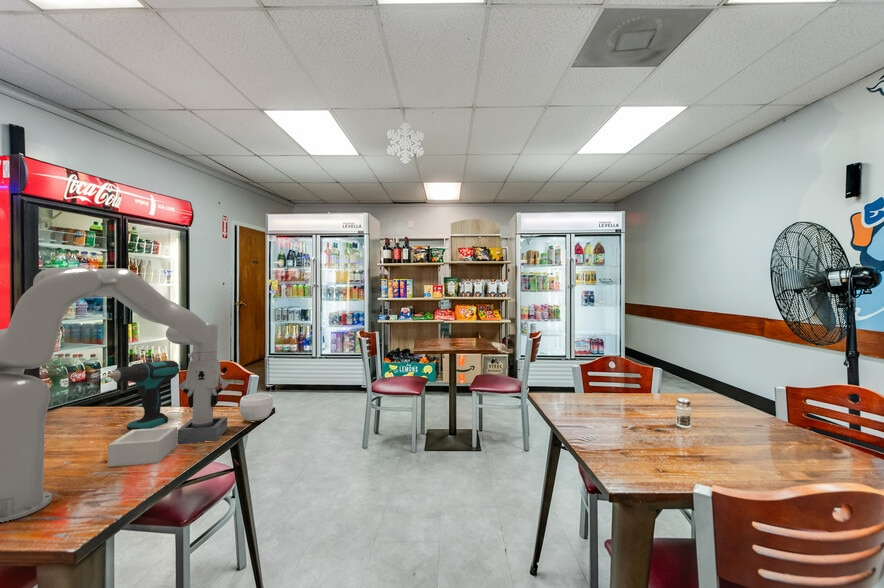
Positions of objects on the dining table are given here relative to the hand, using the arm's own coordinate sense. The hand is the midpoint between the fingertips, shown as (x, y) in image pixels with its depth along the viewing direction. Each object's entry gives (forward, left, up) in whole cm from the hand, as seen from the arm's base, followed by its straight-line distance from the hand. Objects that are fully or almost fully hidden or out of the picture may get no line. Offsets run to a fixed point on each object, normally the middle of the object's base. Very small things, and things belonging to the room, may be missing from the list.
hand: (203, 405), depth 135 cm
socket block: (0, 0, -11) cm, 11 cm away
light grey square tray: (-14, +12, -11) cm, 21 cm away
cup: (+16, -14, -12) cm, 25 cm away
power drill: (+16, +26, -12) cm, 33 cm away
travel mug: (0, 0, -7) cm, 7 cm away
